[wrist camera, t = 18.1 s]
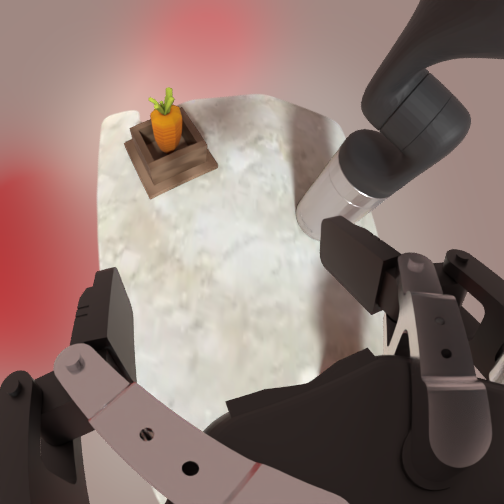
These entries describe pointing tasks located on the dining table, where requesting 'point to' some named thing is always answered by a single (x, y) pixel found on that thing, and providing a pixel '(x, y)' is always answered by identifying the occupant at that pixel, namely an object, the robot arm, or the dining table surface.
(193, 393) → the dining table surface
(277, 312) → the dining table surface
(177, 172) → the socket block
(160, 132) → the carrot
